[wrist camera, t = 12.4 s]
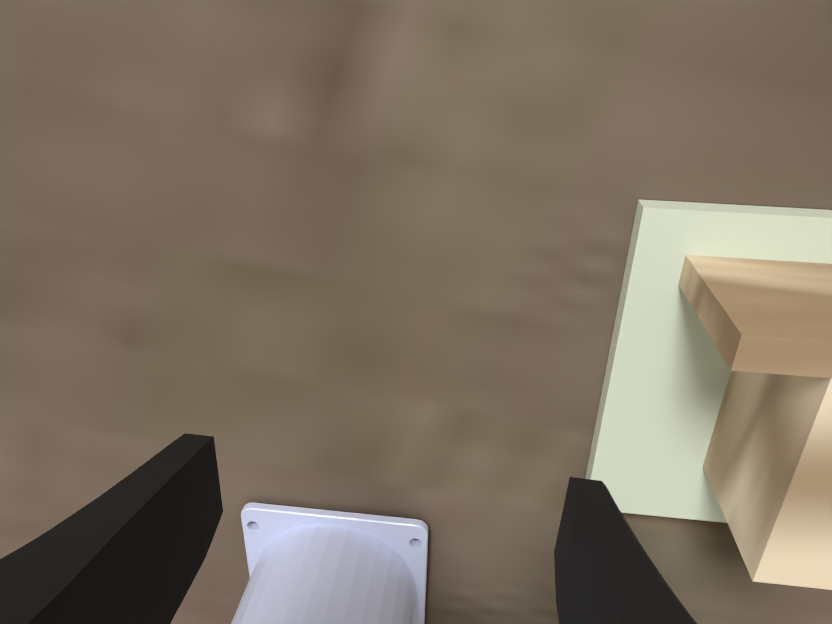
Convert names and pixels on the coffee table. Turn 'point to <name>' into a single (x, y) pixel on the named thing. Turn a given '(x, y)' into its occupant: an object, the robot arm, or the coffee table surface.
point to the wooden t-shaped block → (771, 410)
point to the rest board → (679, 351)
